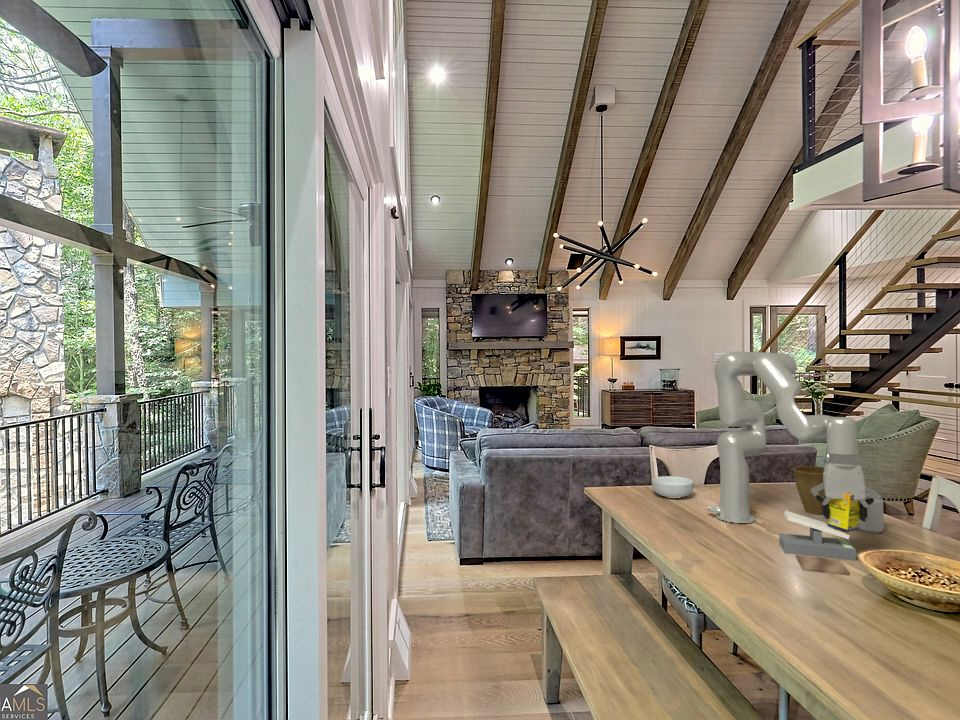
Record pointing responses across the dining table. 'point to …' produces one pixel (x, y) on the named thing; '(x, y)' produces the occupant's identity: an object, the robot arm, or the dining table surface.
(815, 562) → the pad
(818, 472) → the plant pot
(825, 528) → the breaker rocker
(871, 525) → the can
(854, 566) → the dining table surface
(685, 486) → the cereal bowl
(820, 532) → the grey pedestal base
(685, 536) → the dining table surface
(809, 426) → the robot arm
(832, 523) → the supplement box
